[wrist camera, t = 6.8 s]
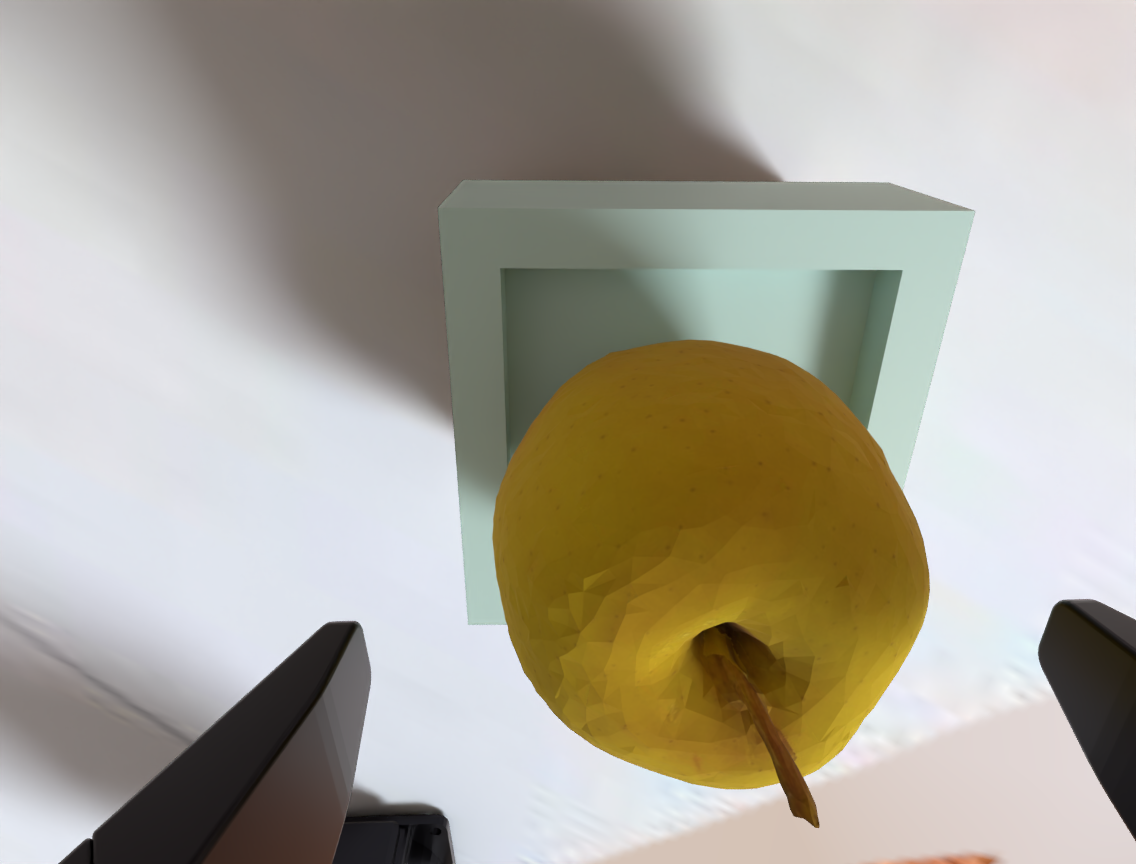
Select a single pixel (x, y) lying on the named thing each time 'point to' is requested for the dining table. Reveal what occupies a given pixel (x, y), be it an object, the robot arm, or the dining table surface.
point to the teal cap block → (683, 303)
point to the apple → (708, 565)
